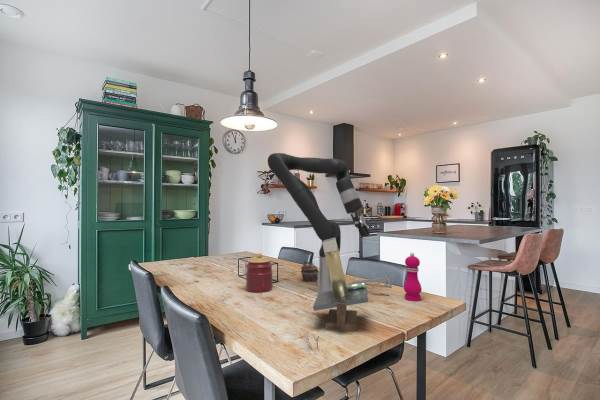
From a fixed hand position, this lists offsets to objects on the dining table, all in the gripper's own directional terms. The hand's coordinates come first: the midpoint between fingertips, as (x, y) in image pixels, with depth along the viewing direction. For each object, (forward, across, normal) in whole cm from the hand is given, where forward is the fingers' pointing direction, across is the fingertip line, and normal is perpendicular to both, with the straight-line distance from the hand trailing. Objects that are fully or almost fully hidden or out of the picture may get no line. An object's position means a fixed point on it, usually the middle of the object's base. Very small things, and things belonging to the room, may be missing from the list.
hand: (365, 235), depth 132 cm
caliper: (+23, -30, -13) cm, 40 cm away
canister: (+5, -3, -59) cm, 59 cm away
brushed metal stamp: (+18, +25, -12) cm, 33 cm away
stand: (+25, +24, -15) cm, 38 cm away
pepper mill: (+32, -13, +6) cm, 35 cm away
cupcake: (+10, -29, -43) cm, 53 cm away
